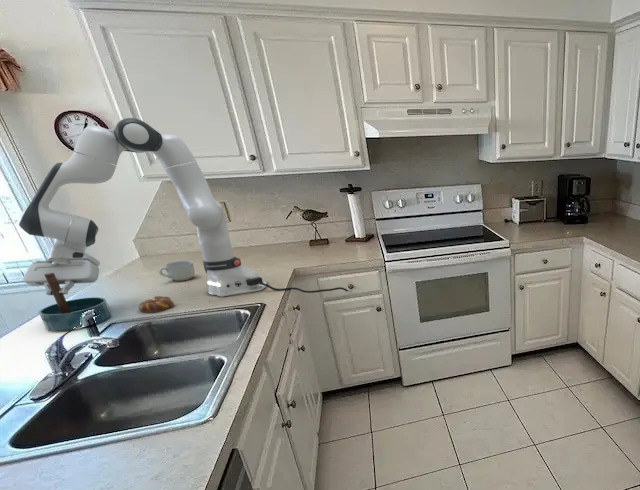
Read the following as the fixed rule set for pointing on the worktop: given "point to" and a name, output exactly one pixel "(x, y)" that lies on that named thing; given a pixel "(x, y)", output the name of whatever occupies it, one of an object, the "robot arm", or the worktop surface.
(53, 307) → the bowl
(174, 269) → the teacup
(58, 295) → the stirring stick
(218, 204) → the robot arm
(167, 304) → the pretzel
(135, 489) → the worktop surface
